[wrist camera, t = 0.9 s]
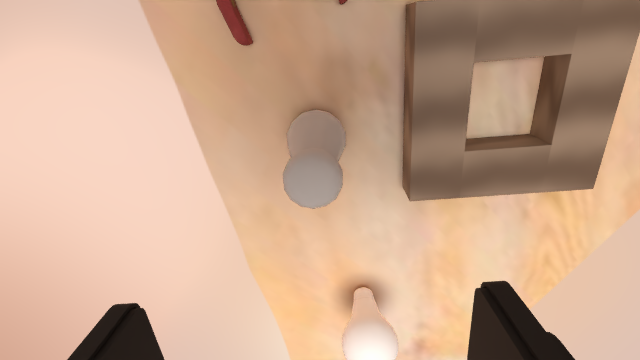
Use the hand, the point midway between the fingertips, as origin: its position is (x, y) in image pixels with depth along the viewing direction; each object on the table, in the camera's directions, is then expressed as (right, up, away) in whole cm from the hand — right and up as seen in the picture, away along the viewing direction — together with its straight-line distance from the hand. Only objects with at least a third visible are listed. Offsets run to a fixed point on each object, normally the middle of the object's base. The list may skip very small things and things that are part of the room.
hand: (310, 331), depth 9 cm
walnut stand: (+18, +12, +23) cm, 31 cm away
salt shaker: (0, +9, +25) cm, 26 cm away
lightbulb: (+6, -10, +34) cm, 36 cm away
